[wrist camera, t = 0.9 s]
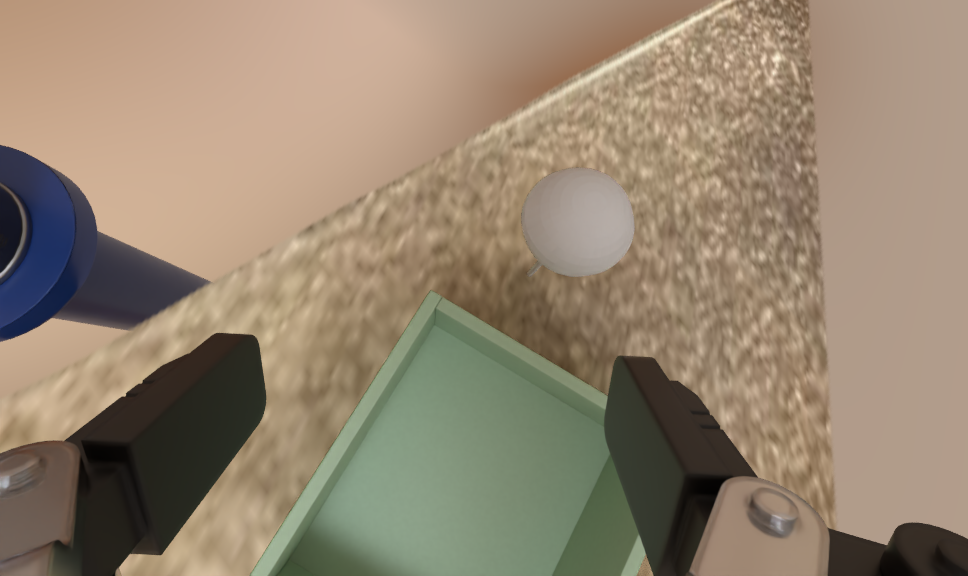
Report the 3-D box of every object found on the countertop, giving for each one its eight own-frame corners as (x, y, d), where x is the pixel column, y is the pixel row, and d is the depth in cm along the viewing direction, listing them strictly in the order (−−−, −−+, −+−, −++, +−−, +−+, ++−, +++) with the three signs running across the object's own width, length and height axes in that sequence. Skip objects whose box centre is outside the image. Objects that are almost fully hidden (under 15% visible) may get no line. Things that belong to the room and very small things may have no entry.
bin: (276, 559, 30) (213, 631, 22) (430, 312, 35) (430, 289, 26) (501, 694, 30) (529, 823, 21) (626, 429, 35) (692, 446, 26)
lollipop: (481, 294, 36) (517, 235, 21) (504, 228, 37) (552, 128, 22) (555, 320, 36) (641, 279, 21) (575, 253, 37) (668, 171, 22)
